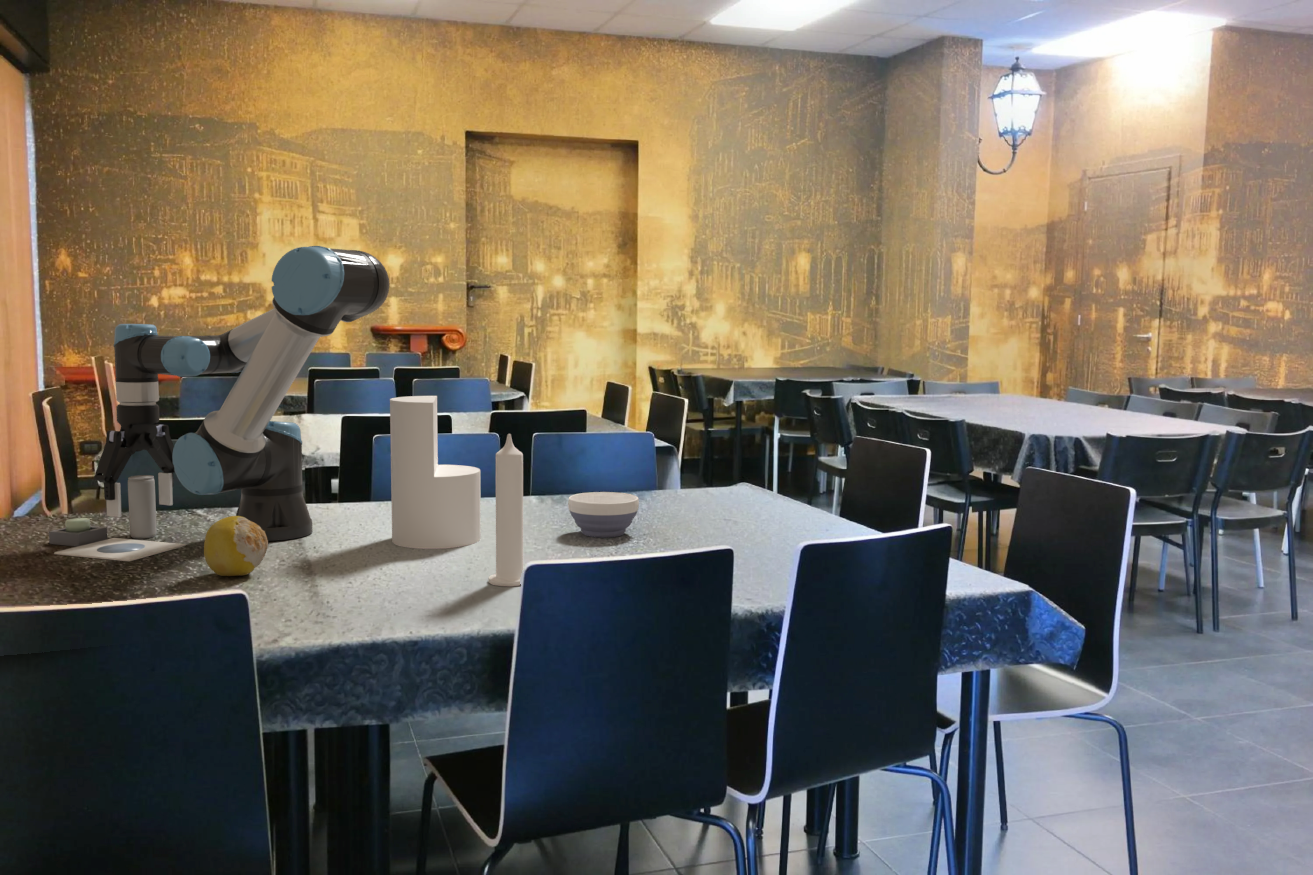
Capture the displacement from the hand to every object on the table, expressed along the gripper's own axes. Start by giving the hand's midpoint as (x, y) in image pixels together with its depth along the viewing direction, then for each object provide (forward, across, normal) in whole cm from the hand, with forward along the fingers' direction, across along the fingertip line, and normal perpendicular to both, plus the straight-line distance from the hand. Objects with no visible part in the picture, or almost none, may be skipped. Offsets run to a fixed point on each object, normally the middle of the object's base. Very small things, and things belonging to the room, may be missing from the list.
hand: (140, 510), depth 213 cm
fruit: (+5, +20, +38) cm, 44 cm away
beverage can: (+5, 0, 0) cm, 5 cm away
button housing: (+5, +8, -8) cm, 12 cm away
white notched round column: (+4, -18, +56) cm, 58 cm away
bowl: (+4, -35, +84) cm, 92 cm away
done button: (+3, +8, -8) cm, 11 cm away
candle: (+4, +8, +84) cm, 84 cm away
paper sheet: (+5, +11, +6) cm, 13 cm away
